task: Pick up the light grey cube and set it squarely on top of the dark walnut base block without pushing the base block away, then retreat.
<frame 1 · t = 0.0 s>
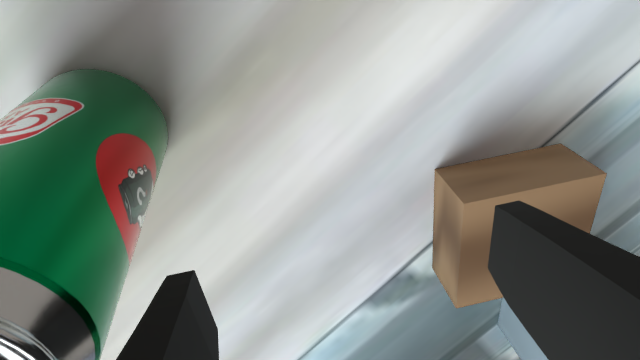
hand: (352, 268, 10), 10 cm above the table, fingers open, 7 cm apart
soda can: (107, 123, 17), on the table
walnut base: (489, 206, 24), on the table
light grey cube: (535, 291, 28), on the table
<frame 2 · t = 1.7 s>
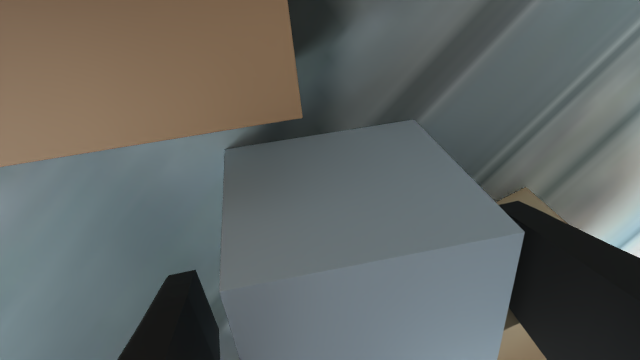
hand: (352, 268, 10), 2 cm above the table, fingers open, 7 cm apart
oak block: (479, 253, 14), on the table, touching gripper
light grey cube: (328, 210, 12), on the table
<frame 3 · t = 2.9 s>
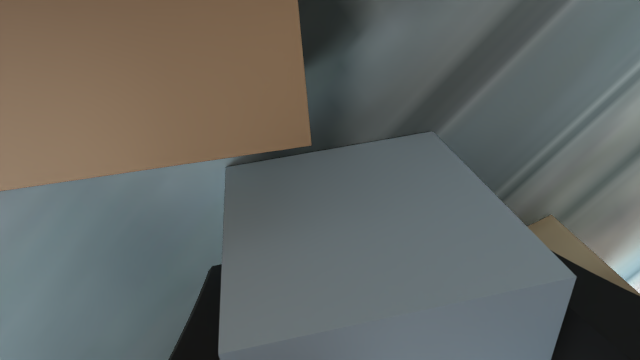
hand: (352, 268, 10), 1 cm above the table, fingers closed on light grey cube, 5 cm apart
oak block: (502, 282, 14), on the table
light grey cube: (339, 231, 11), on the table, touching gripper
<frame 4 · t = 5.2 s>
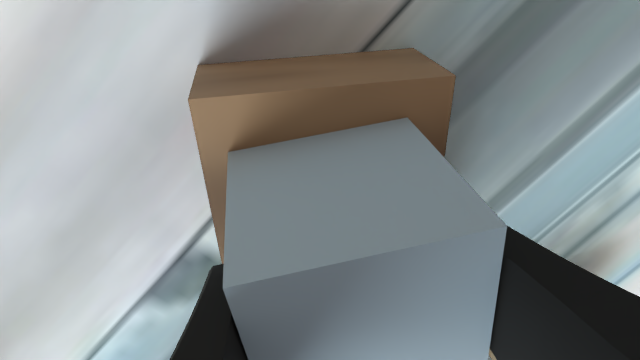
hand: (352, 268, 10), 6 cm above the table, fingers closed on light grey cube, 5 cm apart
walnut base: (312, 148, 15), on the table
light grey cube: (329, 208, 13), point 3 cm above the table, touching gripper
when the fingers open (6 cm above the table, at t = 5.9 s): light grey cube stays where it is, resting on walnut base.
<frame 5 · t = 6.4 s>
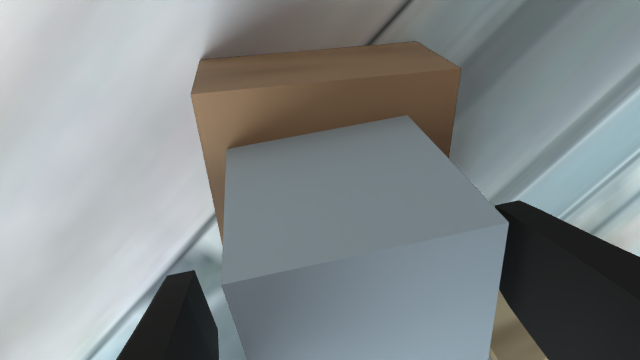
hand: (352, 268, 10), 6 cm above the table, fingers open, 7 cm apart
oak block: (508, 309, 22), on the table
walnut base: (315, 144, 15), on the table, touching light grey cube
light grey cube: (328, 206, 13), point 3 cm above the table, touching walnut base
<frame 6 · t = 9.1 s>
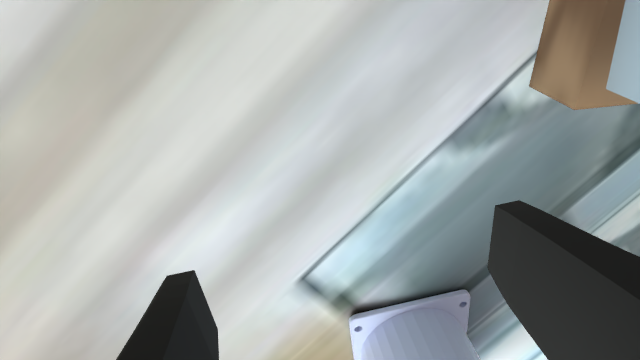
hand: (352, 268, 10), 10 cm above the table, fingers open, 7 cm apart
walnut base: (612, 3, 19), on the table, touching light grey cube
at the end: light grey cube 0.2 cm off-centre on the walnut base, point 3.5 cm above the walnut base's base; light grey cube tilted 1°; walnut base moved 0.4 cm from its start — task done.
